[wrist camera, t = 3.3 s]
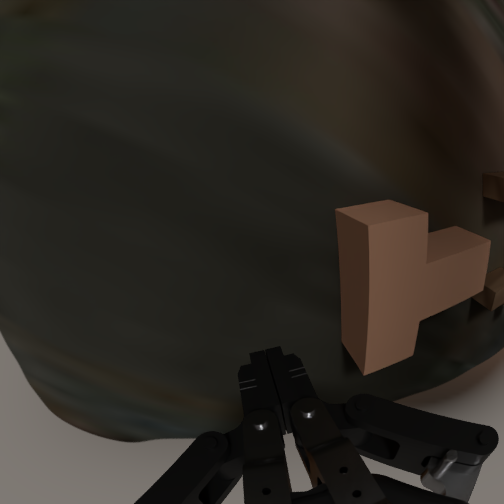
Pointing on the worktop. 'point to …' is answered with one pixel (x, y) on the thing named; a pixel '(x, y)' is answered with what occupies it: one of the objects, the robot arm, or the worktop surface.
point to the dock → (499, 280)
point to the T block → (399, 277)
